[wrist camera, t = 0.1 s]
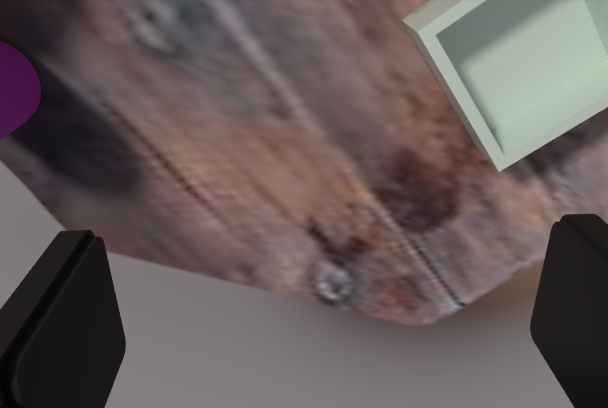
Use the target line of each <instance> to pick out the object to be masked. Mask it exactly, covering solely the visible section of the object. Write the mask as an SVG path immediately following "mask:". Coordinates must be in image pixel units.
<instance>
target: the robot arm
mask: <svg viewBox="0 0 608 408" xmlns="http://www.w3.org/2000/svg"><path fill="white" fill-rule="evenodd" d="M530 331H531V336H532V339H533V341H534V343H535V344H536V346H537V347H538V349H539V351H540V352H541V354H542V355H543V357H544V359H545V360H546V362H547V364H548V365H549V367H550V369H551V370H552V372H553V373H554V375H555V377H556V378H557V380H558V381H559V383H560V385H561V386H562V388H563V389H564V391H565V393H566V395H567V396H568V398H569V399H570V401H571V403H572V404H573V406H574V408H608V224H607V223H605V222H604V221H603V220H602V219H601V218H600V217H599V216H597V215H596V214H568V215H564V216H563V217H562V218H561V220H560V222H555V223H554V224H553V226H552V229H551V233H550V238H549V242H548V247H547V251H546V256H545V260H544V265H543V269H542V274H541V278H540V282H539V287H538V291H537V296H536V300H535V305H534V309H533V314H532V318H531V323H530ZM125 343H126V341H125V335H124V330H123V326H122V321H121V317H120V312H119V308H118V303H117V299H116V294H115V290H114V285H113V281H112V276H111V272H110V267H109V263H108V259H107V254H106V249H105V245H104V241H103V239H102V238H101V237H95V236H94V234H93V232H92V231H91V230H74V231H60V232H59V233H58V234H57V236H56V237H55V238H54V240H53V241H52V242H51V244H50V245H49V246H48V248H47V249H46V250H45V251H44V253H43V254H42V256H41V257H40V258H39V259H38V261H37V262H36V263H35V265H34V266H33V267H32V269H31V270H30V271H29V273H28V274H27V275H26V277H25V278H24V279H23V280H22V282H21V283H20V285H19V286H18V287H17V288H16V290H15V291H14V292H13V294H12V295H11V297H10V298H9V299H8V300H7V302H6V303H5V304H4V306H3V307H2V308H1V309H0V408H104V407H105V405H106V402H107V399H108V397H109V394H110V391H111V389H112V386H113V384H114V381H115V378H116V376H117V373H118V370H119V368H120V365H121V363H122V360H123V357H124V354H125V347H126V344H125Z"/></svg>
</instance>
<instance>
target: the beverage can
mask: <svg viewBox="0 0 608 408" xmlns="http://www.w3.org/2000/svg"><path fill="white" fill-rule="evenodd" d="M40 100H41V84H40V81H39V78H38V75H37V72H36V70H35V69H34V67H33V66H32V64H31V63H30V61H29V60H28V59H27V58H26V57H25V56H24V55H23V54H22V53H21V52H20V51H18V50H17V49H16V48H15V47H13V46H11V45H9V44H7V43H5V42H3V41H0V140H1V139H3V138H4V137H6V136H7V135H8V134H10V133H11V132H13V131H14V130H15V129H17V128H18V127H19V126H21V125H22V124H24V123H25V122H26V121H27V120H28V119H29V118H30V117H31V116H32V115H33V114H34V112H35V111H36V110H37V108H38V105H39V102H40Z"/></svg>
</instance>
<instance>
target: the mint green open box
mask: <svg viewBox="0 0 608 408" xmlns="http://www.w3.org/2000/svg"><path fill="white" fill-rule="evenodd" d="M401 21H402V23H403V24H404V26H405V28H406V29H407V31H408V33H409V34H410V36H411V38H412V40H413V41H414V43H415V45H416V46H417V48H418V50H419V51H420V53H421V55H422V56H423V58H424V60H425V61H426V63H427V65H428V67H429V68H430V70H431V72H432V73H433V75H434V77H435V78H436V80H437V82H438V83H439V85H440V87H441V88H442V90H443V92H444V94H445V95H446V97H447V99H448V100H449V102H450V104H451V105H452V107H453V109H454V110H455V112H456V114H457V115H458V117H459V119H460V120H461V122H462V124H463V126H464V127H465V129H466V131H467V132H468V134H469V136H470V137H471V139H472V141H473V142H474V144H475V146H476V147H477V148H478V149H479V151H480V152H481V153H482V154H483V155H484V156H485V157H486V158H487V159H488V160H489V161H490V163H491V164H492V165H493V166H494V167H495V168H496V169H497V170H498V171H499V172H500V171H502V170H503V169H505V168H507V167H508V166H510V165H512V164H513V163H515V162H517V161H518V160H520V159H522V158H523V157H525V156H527V155H528V154H530V153H532V152H533V151H535V150H537V149H538V148H540V147H542V146H543V145H545V144H547V143H548V142H550V141H552V140H553V139H555V138H557V137H558V136H560V135H562V134H563V133H565V132H567V131H568V130H570V129H572V128H573V127H575V126H577V125H578V124H580V123H582V122H583V121H585V120H587V119H588V118H590V117H592V116H593V115H595V114H597V113H598V112H600V111H602V110H603V109H605V108H607V107H608V0H429V1H428V2H426V3H425V4H424V5H422V6H421V7H419V8H418V9H416V10H415V11H414V12H412V13H411V14H409V15H408V16H407V17H405V18H404V19H402V20H401Z"/></svg>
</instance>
